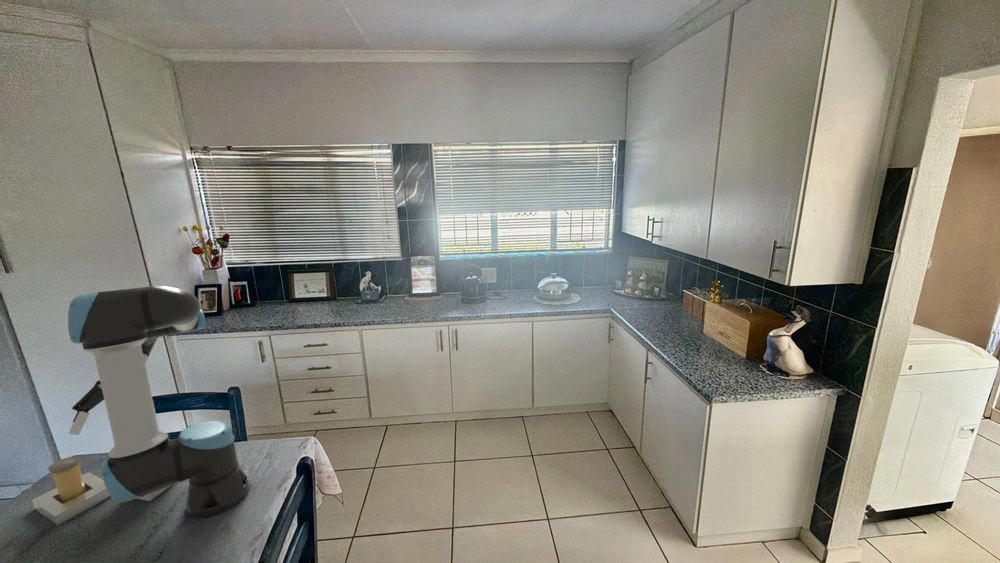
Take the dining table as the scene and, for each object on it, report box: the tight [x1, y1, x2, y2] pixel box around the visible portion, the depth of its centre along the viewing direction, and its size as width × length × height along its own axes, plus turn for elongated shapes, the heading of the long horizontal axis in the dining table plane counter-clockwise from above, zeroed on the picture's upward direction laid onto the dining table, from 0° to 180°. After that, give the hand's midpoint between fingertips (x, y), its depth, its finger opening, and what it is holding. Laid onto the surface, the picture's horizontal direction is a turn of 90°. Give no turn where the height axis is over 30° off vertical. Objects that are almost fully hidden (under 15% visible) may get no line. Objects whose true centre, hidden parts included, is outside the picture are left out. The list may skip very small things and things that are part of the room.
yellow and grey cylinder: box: [47, 455, 87, 504], centre depth 110 cm, size 6×6×13 cm
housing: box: [31, 472, 111, 526], centre depth 111 cm, size 14×12×3 cm
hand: (96, 433), depth 118 cm, fingers open, 13 cm apart
